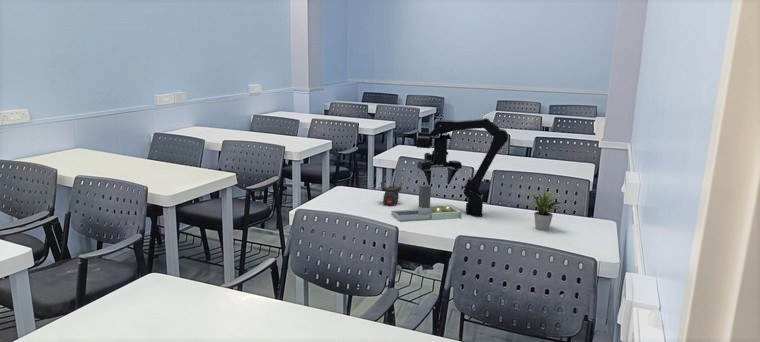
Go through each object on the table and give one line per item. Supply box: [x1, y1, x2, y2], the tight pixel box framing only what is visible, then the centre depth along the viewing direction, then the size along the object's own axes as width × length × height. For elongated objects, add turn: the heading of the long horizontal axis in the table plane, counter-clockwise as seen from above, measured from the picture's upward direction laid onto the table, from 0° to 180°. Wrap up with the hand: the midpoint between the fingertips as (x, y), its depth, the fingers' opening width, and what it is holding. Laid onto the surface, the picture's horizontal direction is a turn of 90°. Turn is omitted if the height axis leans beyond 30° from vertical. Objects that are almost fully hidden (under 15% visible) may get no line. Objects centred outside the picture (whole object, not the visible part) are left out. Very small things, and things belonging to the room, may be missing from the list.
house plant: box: [527, 188, 563, 231], centre depth 213 cm, size 14×14×16 cm
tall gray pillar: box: [417, 184, 432, 214], centre depth 225 cm, size 4×4×13 cm
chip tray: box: [430, 204, 462, 221], centre depth 228 cm, size 13×12×3 cm
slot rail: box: [390, 208, 458, 223], centre depth 226 cm, size 27×12×2 cm, turn 108°
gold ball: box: [443, 205, 453, 212], centre depth 229 cm, size 4×4×4 cm
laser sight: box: [380, 181, 403, 207], centre depth 252 cm, size 10×22×10 cm, turn 175°
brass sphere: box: [433, 207, 443, 213], centre depth 226 cm, size 4×4×4 cm
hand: (438, 184), depth 235 cm, fingers open, 9 cm apart
